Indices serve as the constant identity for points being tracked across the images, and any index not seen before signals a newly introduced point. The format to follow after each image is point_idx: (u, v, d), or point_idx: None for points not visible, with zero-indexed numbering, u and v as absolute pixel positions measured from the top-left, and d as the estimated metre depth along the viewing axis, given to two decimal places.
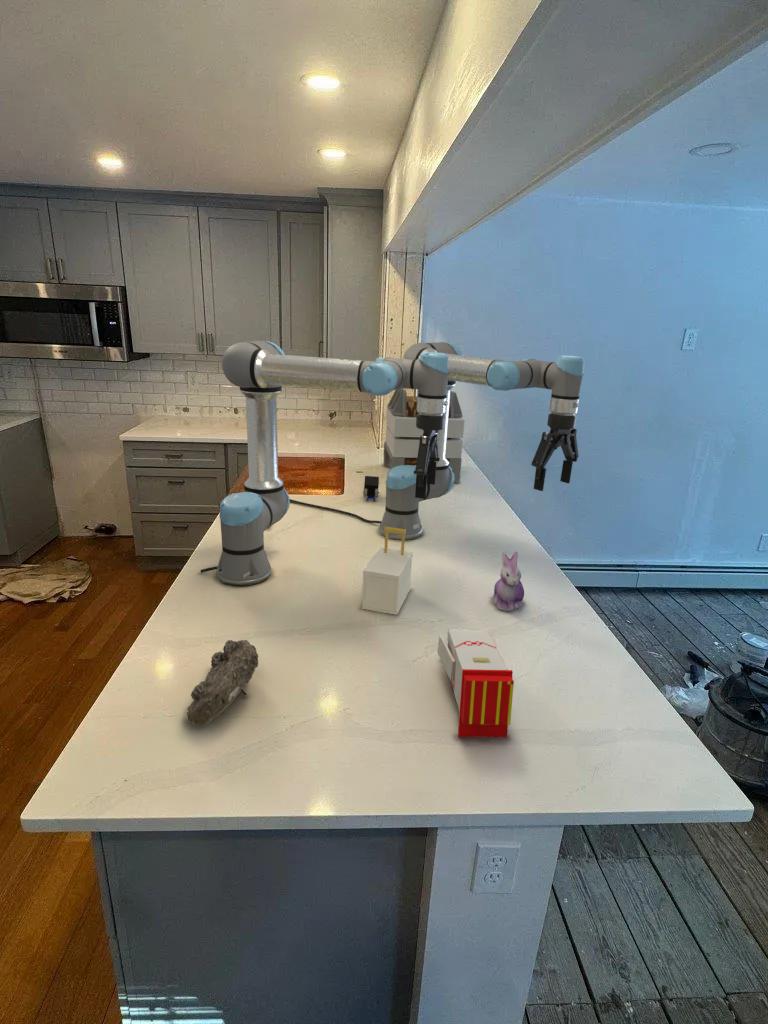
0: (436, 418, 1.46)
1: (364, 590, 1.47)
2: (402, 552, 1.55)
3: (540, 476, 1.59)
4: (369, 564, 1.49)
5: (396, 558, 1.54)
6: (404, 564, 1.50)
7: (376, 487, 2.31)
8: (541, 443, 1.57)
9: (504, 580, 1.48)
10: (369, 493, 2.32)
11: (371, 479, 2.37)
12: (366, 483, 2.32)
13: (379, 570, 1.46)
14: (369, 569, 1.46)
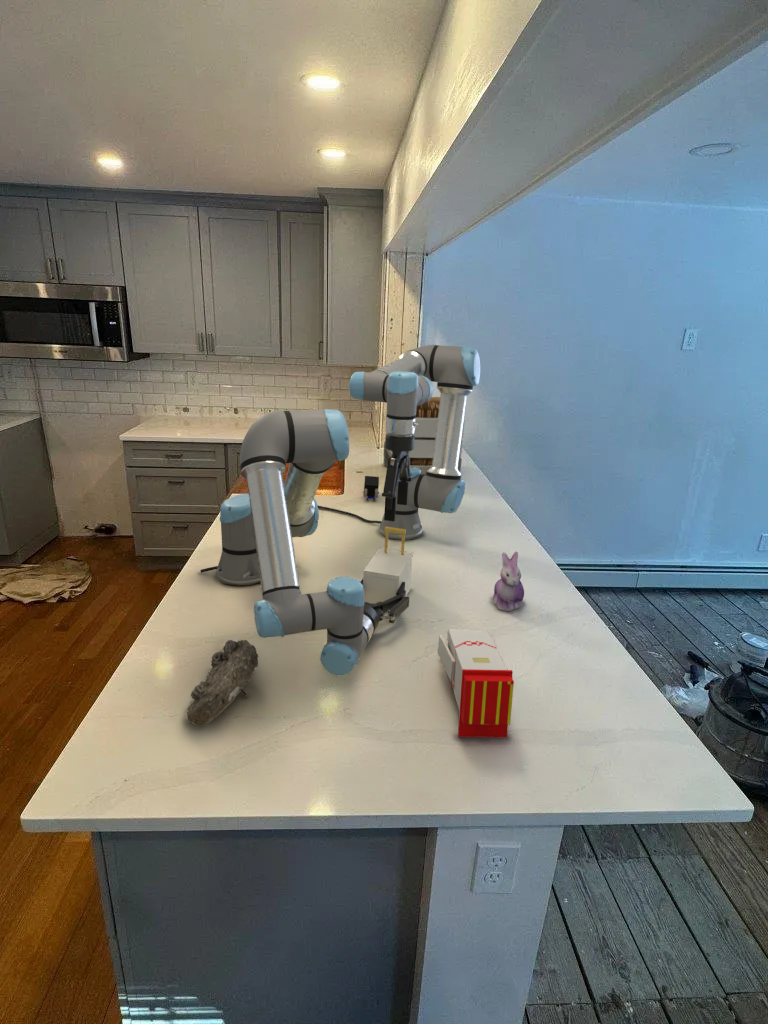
0: None
1: (364, 590, 1.47)
2: (402, 552, 1.55)
3: (392, 506, 1.44)
4: (369, 564, 1.49)
5: (396, 558, 1.54)
6: (404, 564, 1.50)
7: (376, 487, 2.31)
8: (388, 470, 1.41)
9: (504, 580, 1.48)
10: (369, 493, 2.32)
11: (371, 479, 2.37)
12: (366, 483, 2.32)
13: (379, 570, 1.46)
14: (369, 569, 1.46)
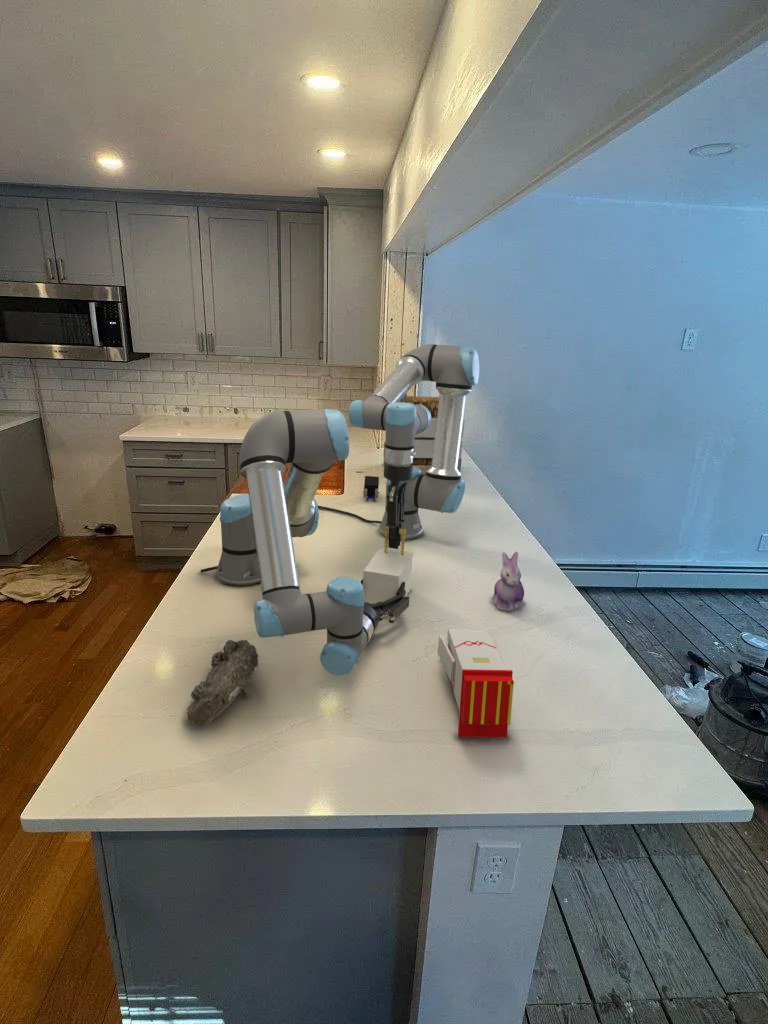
0: None
1: (364, 590, 1.47)
2: (402, 552, 1.55)
3: (395, 535, 1.52)
4: (369, 564, 1.49)
5: (396, 558, 1.54)
6: (404, 564, 1.50)
7: (376, 487, 2.31)
8: (389, 505, 1.46)
9: (504, 580, 1.48)
10: (369, 493, 2.32)
11: (371, 479, 2.37)
12: (366, 483, 2.32)
13: (379, 570, 1.46)
14: (369, 569, 1.46)
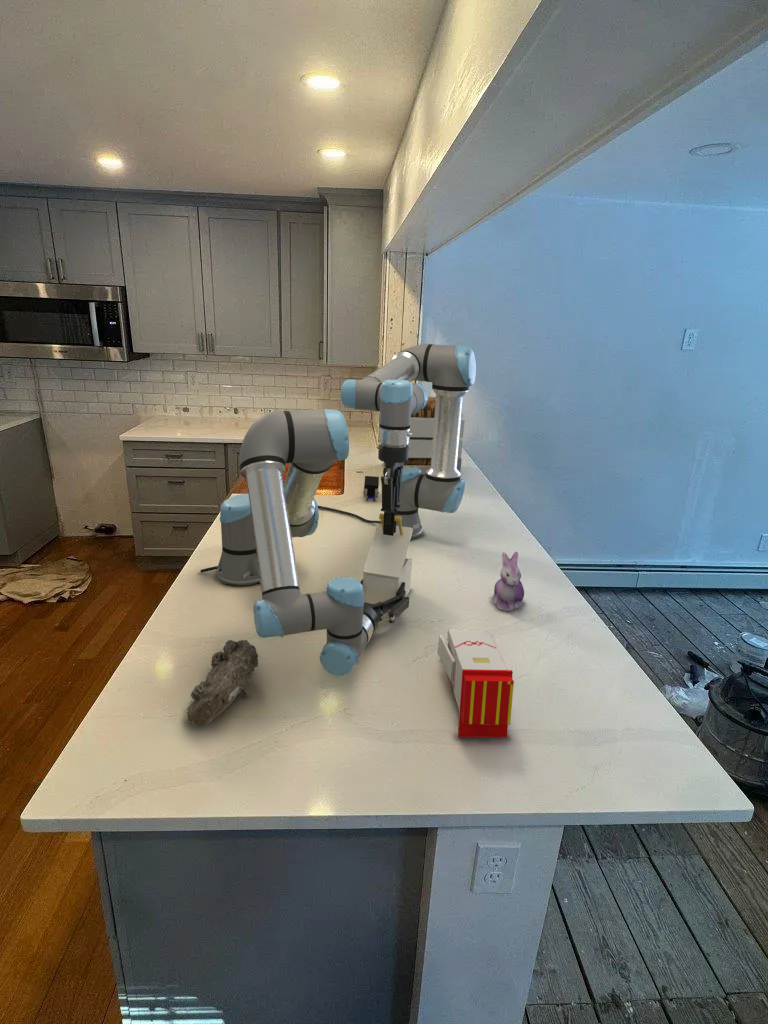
0: None
1: (364, 590, 1.47)
2: (401, 533, 1.50)
3: (390, 520, 1.44)
4: (368, 558, 1.47)
5: (395, 542, 1.50)
6: (404, 553, 1.47)
7: (376, 487, 2.31)
8: (383, 489, 1.38)
9: (504, 580, 1.48)
10: (369, 493, 2.32)
11: (371, 479, 2.37)
12: (366, 483, 2.32)
13: (379, 568, 1.45)
14: (368, 568, 1.46)
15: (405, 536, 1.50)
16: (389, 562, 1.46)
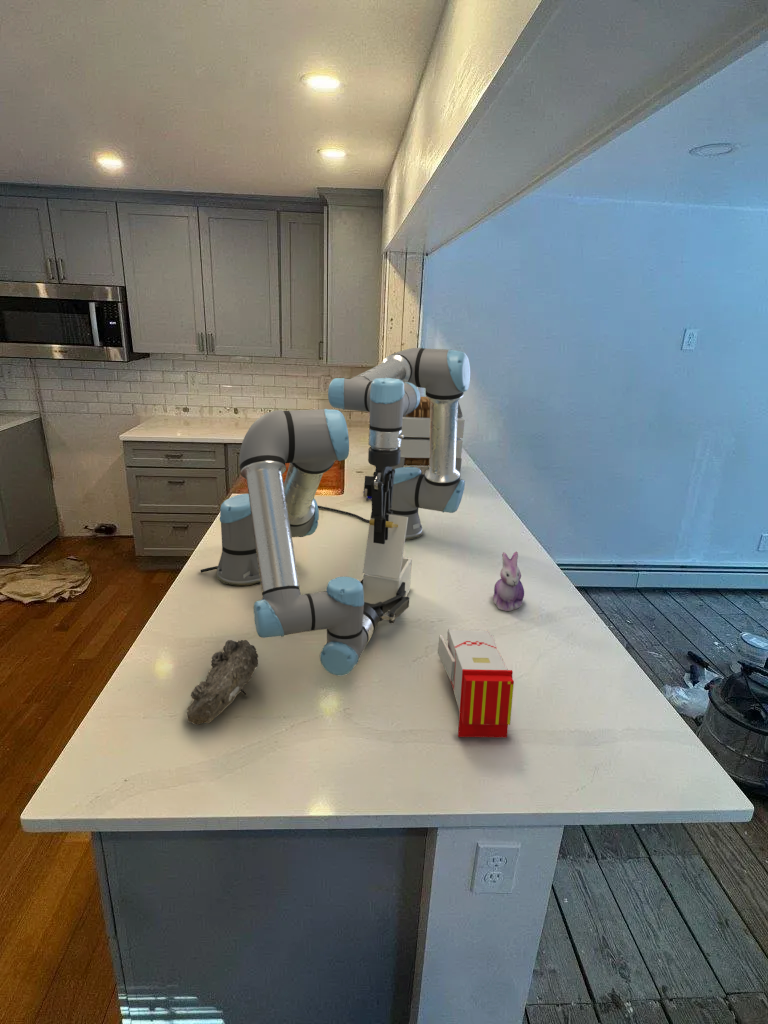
0: None
1: (364, 590, 1.47)
2: (396, 526, 1.43)
3: (381, 528, 1.36)
4: (366, 557, 1.45)
5: (391, 535, 1.44)
6: (401, 549, 1.43)
7: None
8: (373, 494, 1.30)
9: (504, 580, 1.48)
10: (369, 493, 2.32)
11: (371, 479, 2.37)
12: (366, 483, 2.32)
13: (378, 569, 1.44)
14: (367, 569, 1.45)
15: (401, 528, 1.43)
16: (387, 561, 1.44)
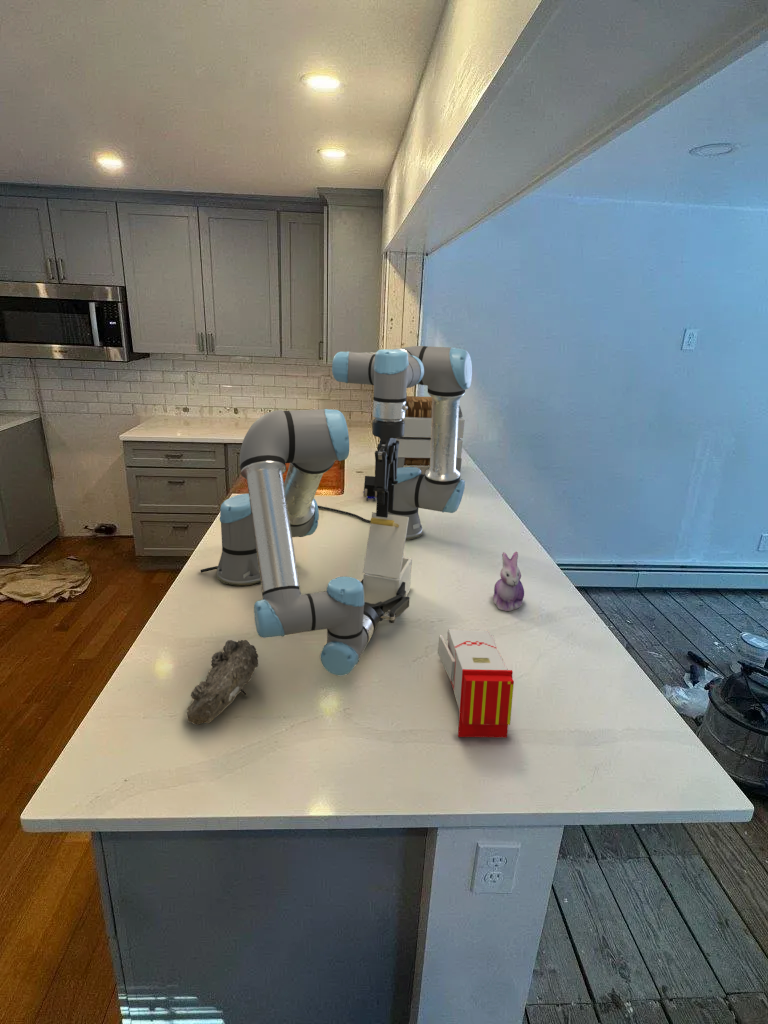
0: None
1: (364, 590, 1.47)
2: (396, 526, 1.44)
3: (384, 501, 1.35)
4: (366, 557, 1.45)
5: (391, 535, 1.44)
6: (401, 549, 1.43)
7: None
8: (377, 465, 1.30)
9: (504, 580, 1.48)
10: (369, 493, 2.32)
11: (371, 479, 2.37)
12: (366, 483, 2.32)
13: (378, 568, 1.44)
14: (368, 568, 1.45)
15: (401, 528, 1.44)
16: (388, 561, 1.44)
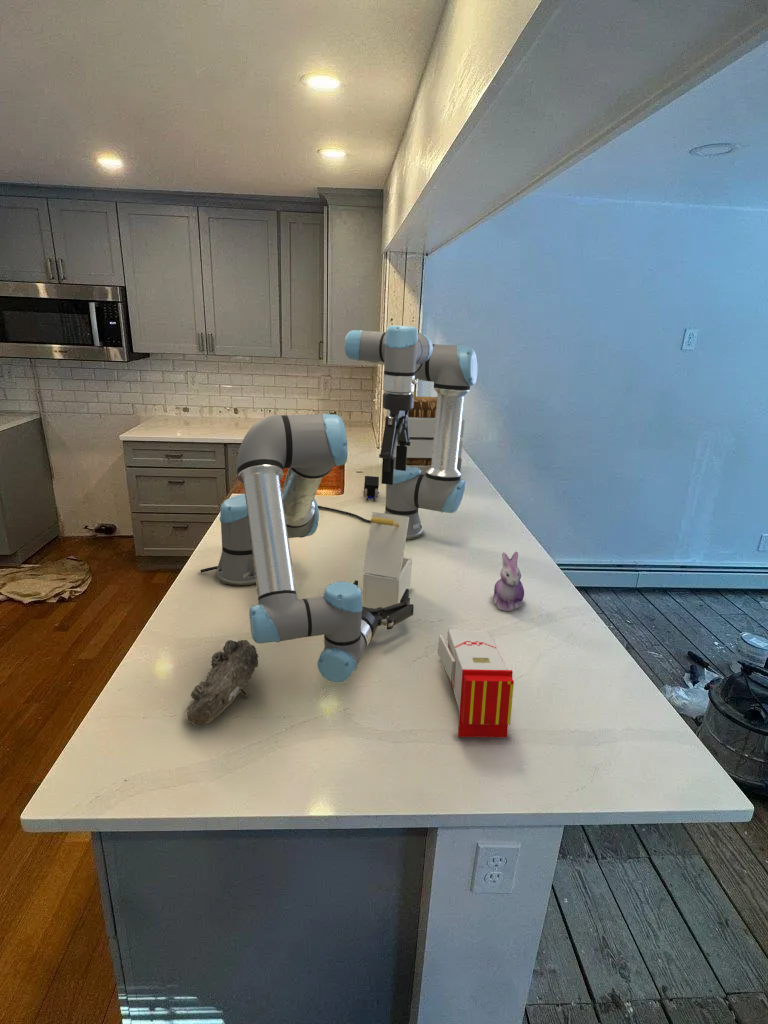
0: None
1: (364, 590, 1.47)
2: (397, 526, 1.44)
3: (389, 468, 1.36)
4: (366, 557, 1.45)
5: (391, 535, 1.45)
6: (401, 549, 1.44)
7: (376, 487, 2.31)
8: (386, 430, 1.34)
9: (504, 580, 1.48)
10: (369, 493, 2.32)
11: (371, 479, 2.37)
12: (366, 483, 2.32)
13: (378, 568, 1.44)
14: (368, 568, 1.45)
15: (401, 528, 1.44)
16: (388, 560, 1.44)
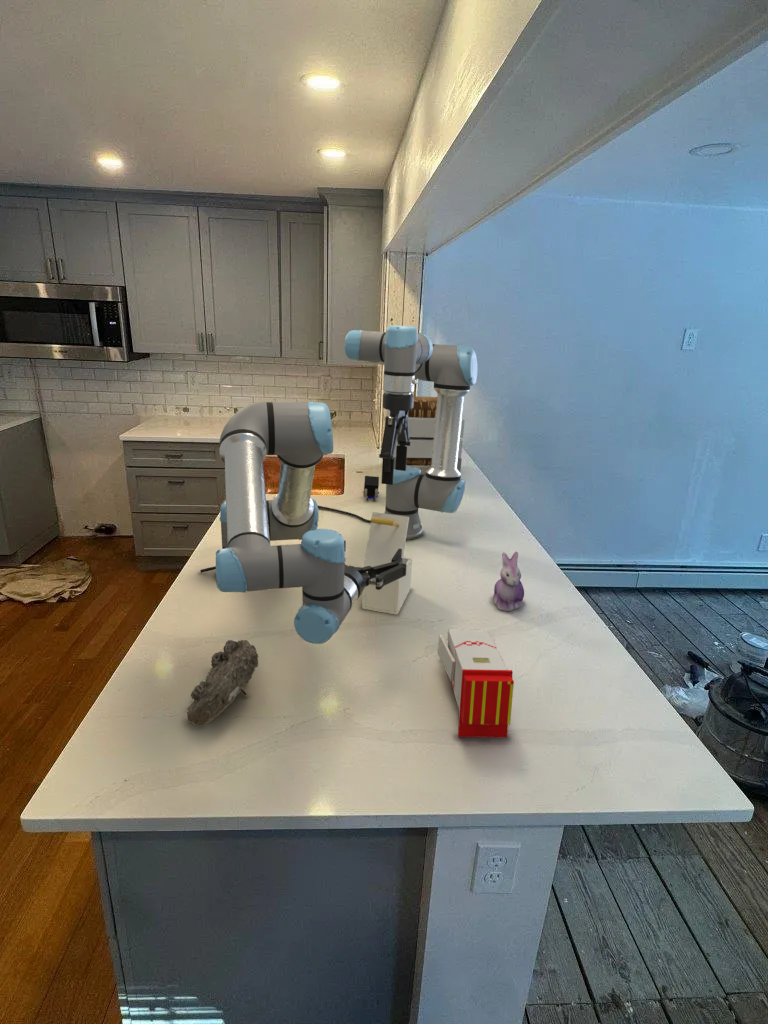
0: None
1: (364, 590, 1.47)
2: (397, 526, 1.44)
3: (389, 468, 1.36)
4: (366, 557, 1.45)
5: (391, 535, 1.45)
6: None
7: (376, 487, 2.31)
8: (386, 430, 1.34)
9: (504, 580, 1.48)
10: (369, 493, 2.32)
11: (371, 479, 2.37)
12: (366, 483, 2.32)
13: None
14: None
15: (401, 528, 1.44)
16: (388, 560, 1.44)
